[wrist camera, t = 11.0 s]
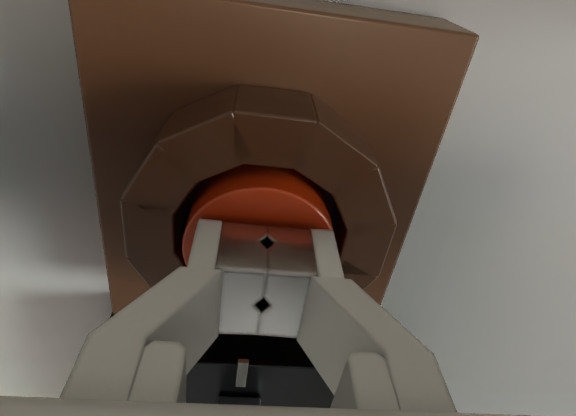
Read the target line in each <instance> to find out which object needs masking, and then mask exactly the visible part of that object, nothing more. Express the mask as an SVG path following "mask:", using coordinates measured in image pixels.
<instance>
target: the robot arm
mask: <svg viewBox="0 0 576 416" xmlns="http://www.w3.org/2000/svg"><path fill="white" fill-rule="evenodd" d="M218 334H243V335H264V336H276V337H289V338H297V341H298V343H299V344H300V346H301V347H302V349H303V350H304V352H305V353H306V355H307V356H308V358H309V359H310V361H311V362H312V364H313V365H314V367H315V368H316V370H317V371H318V373H319V374H320V375H321V377H322V378H323V380H324V381H325V383H326V384H327V386H328V387H329V389H330V390H331V392H332V393H333V395H334V398H333V401H332V404H331V407H330V408H311V407H284V406H257V405H230V404H203V403H186V375H187V374H188V373H189V371H190V370H191V369H192V368H193V367H194V365H195V364H196V363H197V362H198V360H199V359H200V358H201V357H202V355H203V354H204V353H205V352H206V351H207V349H208V348H209V347H210V346H211V344H212V343H213V342H214V341H215V340H216V338H217V337H218ZM0 416H529V415H503V414H476V413H457V411H456V408H455V406H454V403H453V401H452V398H451V396H450V393H449V391H448V388H447V386H446V383H445V381H444V378H443V376H442V373H441V371H440V368H439V366H438V363H437V361H436V358H435V356H434V354H433V353H432V352H431V351H430V350H429V349H428V348H427V347H426V346H424V345H423V344H422V343H421V342H420V341H419V340H418V339H417V338H416V337H415V336H413V335H412V334H411V333H410V332H409V331H408V330H407V329H406V328H405V327H403V326H402V325H401V324H400V323H399V322H398V321H397V320H396V319H395V318H393V317H392V316H391V315H390V314H389V313H388V312H387V311H386V310H385V309H384V308H382V307H381V306H380V305H379V304H378V303H377V302H376V301H375V300H374V299H372V298H371V297H370V296H369V295H368V294H367V293H366V292H365V291H364V290H362V289H361V288H360V287H359V286H358V285H357V284H356V283H355V282H354V281H353V280H351V279H345V278H344V274H343V270H342V266H341V261H340V257H339V253H338V249H337V244H336V240H335V236H334V232H333V231H332V230H327V229H301V228H288V227H276V226H267V225H259V224H250V223H240V222H231V221H223V222H222V221H221V220H211V219H199V221H198V223H197V227H196V231H195V235H194V240H193V244H192V248H191V252H190V256H189V260H188V265H187V267H181V266H180V267H179V268H177V269H176V270H174V271H173V272H172V273H170V274H169V275H168V276H166V277H165V278H164V279H162V280H161V281H160V282H158V283H157V284H156V285H154V286H153V287H152V288H150V289H149V290H147V291H146V292H145V293H143V294H142V295H141V296H139V297H138V298H137V299H135V300H134V301H133V302H131V303H130V304H129V305H127V306H126V307H125V308H123V309H122V310H120V311H119V312H118V313H116V314H115V315H114V316H112V317H111V318H110V319H108V320H107V321H106V322H104V323H103V324H102V325H100V326H99V327H97V328H96V329H95V330H93V331H92V332H91V333H89V334H88V336H87V338H86V340H85V342H84V344H83V347H82V349H81V351H80V353H79V356H78V358H77V360H76V362H75V364H74V367H73V369H72V371H71V373H70V375H69V378H68V380H67V382H66V384H65V386H64V389H63V391H62V393H61V395H60V397H59V398H41V397H14V396H0Z"/></svg>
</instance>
